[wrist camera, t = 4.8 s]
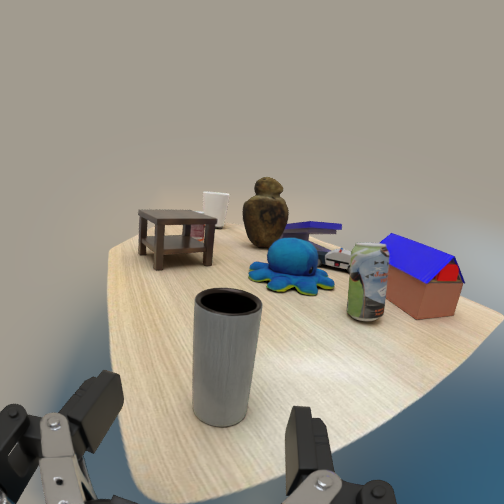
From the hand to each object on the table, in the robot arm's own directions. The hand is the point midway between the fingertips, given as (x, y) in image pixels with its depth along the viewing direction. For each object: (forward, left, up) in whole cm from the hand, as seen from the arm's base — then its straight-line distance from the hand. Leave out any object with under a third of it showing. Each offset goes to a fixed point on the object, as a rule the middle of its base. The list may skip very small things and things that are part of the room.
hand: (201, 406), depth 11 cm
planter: (+6, +6, -9) cm, 12 cm away
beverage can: (+35, +11, -9) cm, 37 cm away
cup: (+50, +84, -9) cm, 98 cm away
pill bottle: (+33, +63, -9) cm, 72 cm away
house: (+52, +10, -9) cm, 54 cm away
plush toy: (+37, +29, -9) cm, 48 cm away
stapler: (+63, +52, -9) cm, 82 cm away
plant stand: (+20, +48, -9) cm, 53 cm away
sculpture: (+49, +53, -9) cm, 73 cm away
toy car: (+54, +31, -9) cm, 63 cm away
